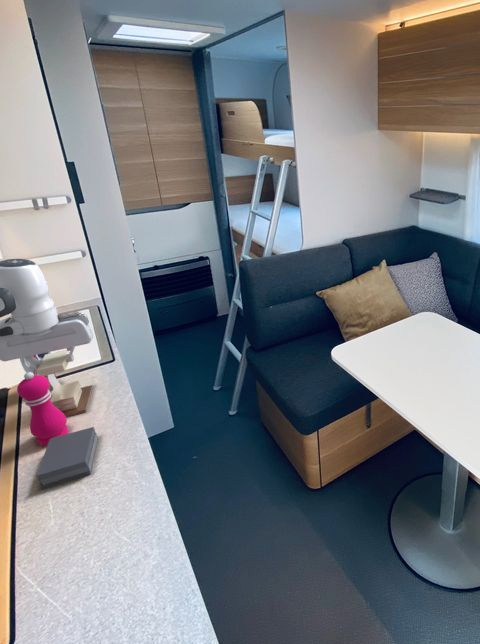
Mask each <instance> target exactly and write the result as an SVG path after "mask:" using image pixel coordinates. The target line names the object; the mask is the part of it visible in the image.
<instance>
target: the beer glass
mask: <svg viewBox="0 0 480 644" xmlns="http://www.w3.org/2000/svg"><path fill="white" fill-rule="evenodd" d="M51 353H52V352H47V353H42V354H38V355H34V356H33V357H34V358H36V359H37V360H43V358H44V356H45V355H46V354H51ZM19 361H20V364H21V367H22V369H23V371H24V372H25V374H26V373H28V372H32V373H33V374H34V375H39V373H38V371H37V370H38V369H35V367H34V364H31V363H29V362H28V361H26V359H25V357H23V358H19ZM44 377H46V378H47V379H48V381H49V384H50V386H49V389H48V390H49V391H50V393H51V394H53V393H54V390H55V388H56V386H58V385H62V384H61V383H60V382H59V380H58V378H57V374H56V373H55V374H51V375H46V376H44Z"/></svg>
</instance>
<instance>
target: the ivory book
mask: <svg viewBox="0 0 480 644" xmlns="http://www.w3.org/2000/svg"><path fill="white" fill-rule="evenodd" d="M69 353H70V351H67V349H63V350H59V351H54V352H51V354H46V355H45V356H44V358H43V360H42V362H41V364H40V366H39V368H38V370H37V371H38V373H39V375H41V376H46V375H51V374H55V375H56V374H58V373H63V372H66V370H67V368H68V365H69V363H70V362H66V359H65V355H66V354H69Z"/></svg>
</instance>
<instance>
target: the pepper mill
mask: <svg viewBox="0 0 480 644" xmlns="http://www.w3.org/2000/svg"><path fill="white" fill-rule="evenodd" d="M23 378H24V379H22V380H21V381H20V382H19V383H18V385H17V387H16V392H17V395H18V396H19V397H20V398H22V399H23V402H24V404H25V405H26V406H28V407H29V409H30V412H31V415H30V422H29V430H30V434H31V435H32V436H33V437H35V438H36V442H37V443H38V445H40V446H48V443H49V440H50V439H51V438H54V437H58V436H62V435H65V434H69V428H68V426H67V422H68V418H67V417H66V416H65V415H64V413H63V412H62V411H60V410H59V409H57V408H56V407H54V405H53V404H52V402H51V400H50V398H51V396H52V393H50V391H49V390H48V389H49V386H50V384H49V381H48V379H47V378H46V377H44V376H41V375H34V374H33V373H32V372H28V373H26V372H25V374H24V375H23Z"/></svg>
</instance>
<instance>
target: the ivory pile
mask: <svg viewBox="0 0 480 644" xmlns="http://www.w3.org/2000/svg"><path fill="white" fill-rule="evenodd" d="M93 389H94V386H93V385H92V384H91V385H87V386H83V387H81V382H80V380H76V381H72V382H67V383H64V384H61V385H58V386H56V388H55V390H54V392H53V393H52V394H51V397H50V400H51V402H52V404H53V405H54V407H56V408H57V409H59V410H60V411H62V412H63V413H64V415H65V416H66V418H69V417H73V416H77V415H81V414H85V413H87V411H88V407H89V403H90V400H91V396H92V394H93V393H92V392H93Z"/></svg>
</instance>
